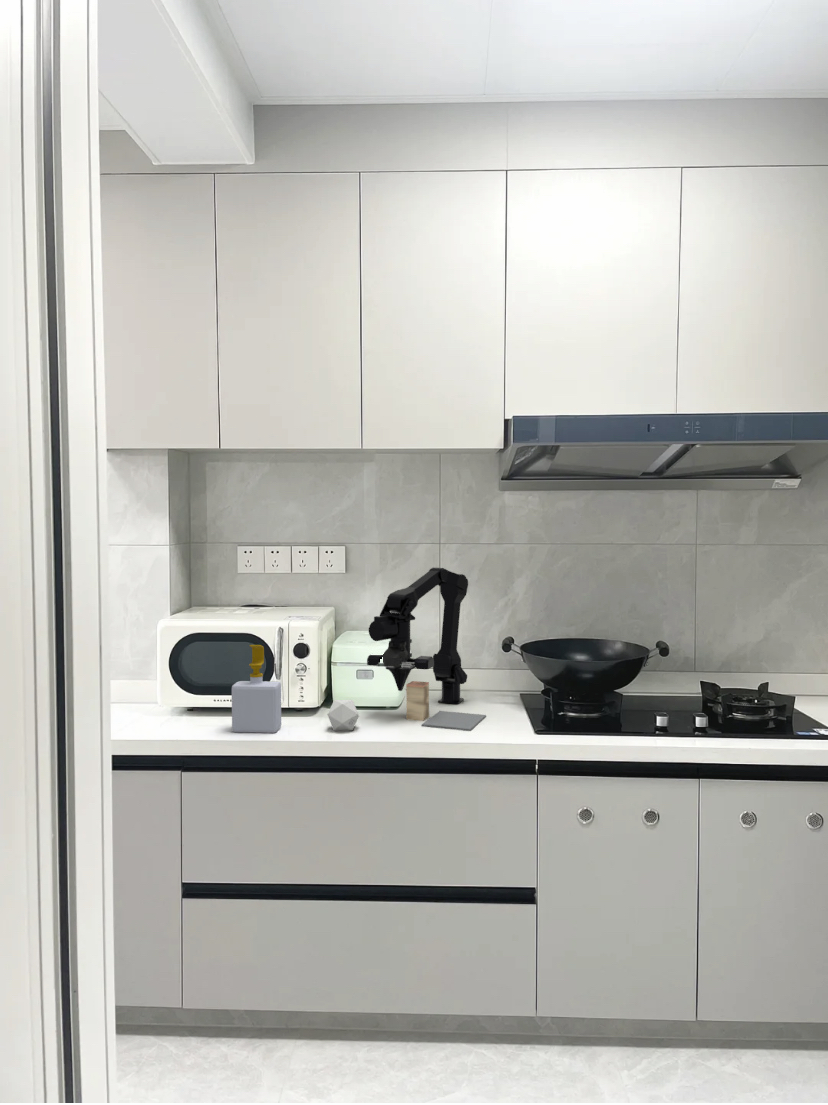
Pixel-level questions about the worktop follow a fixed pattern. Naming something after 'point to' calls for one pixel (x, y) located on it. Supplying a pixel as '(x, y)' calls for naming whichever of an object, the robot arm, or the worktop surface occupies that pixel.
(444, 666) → the robot arm
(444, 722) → the mat
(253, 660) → the soap bottle
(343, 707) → the die
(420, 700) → the pine block
